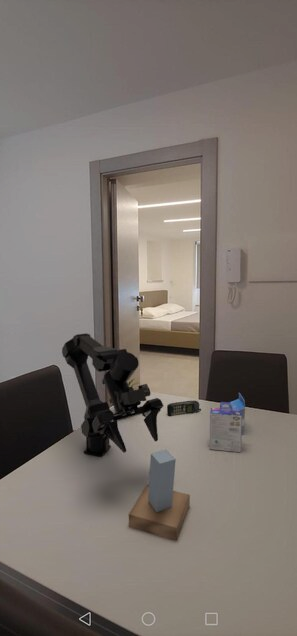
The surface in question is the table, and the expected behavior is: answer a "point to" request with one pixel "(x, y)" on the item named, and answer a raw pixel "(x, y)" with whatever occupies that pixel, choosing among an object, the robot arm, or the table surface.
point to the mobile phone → (182, 408)
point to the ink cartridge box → (225, 428)
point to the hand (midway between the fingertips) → (141, 446)
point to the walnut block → (160, 515)
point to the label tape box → (239, 405)
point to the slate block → (161, 480)
